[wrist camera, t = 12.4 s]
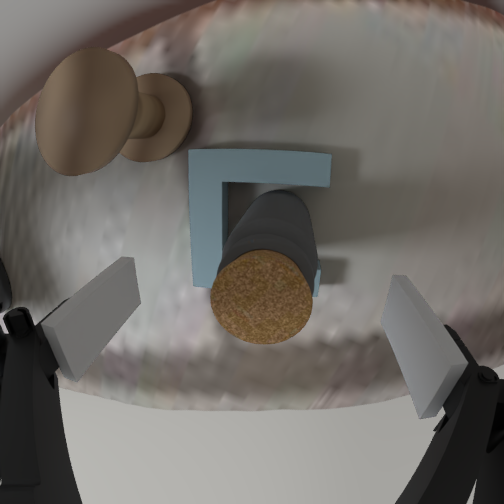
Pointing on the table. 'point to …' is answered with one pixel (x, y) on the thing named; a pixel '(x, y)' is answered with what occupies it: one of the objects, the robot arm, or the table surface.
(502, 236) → the table surface
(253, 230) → the bottle
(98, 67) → the wooden spool
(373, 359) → the table surface
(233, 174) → the bracket
